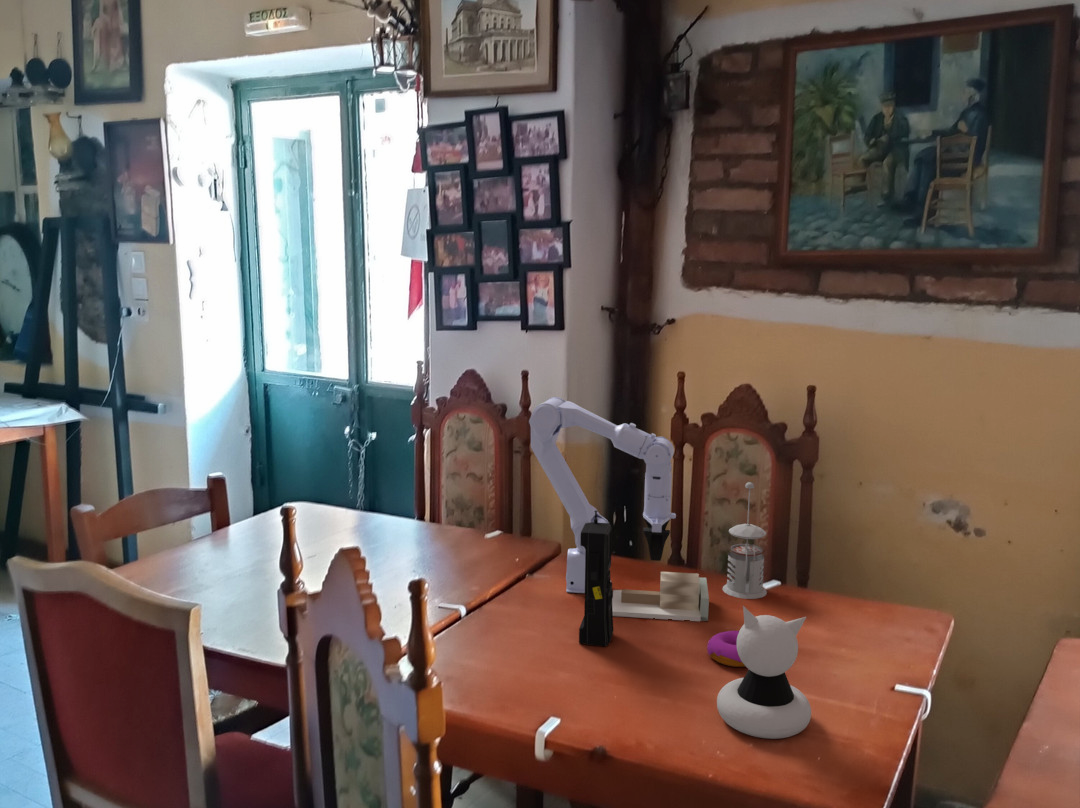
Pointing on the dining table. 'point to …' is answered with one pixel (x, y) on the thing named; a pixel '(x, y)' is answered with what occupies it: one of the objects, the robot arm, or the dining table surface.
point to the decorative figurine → (765, 681)
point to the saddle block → (679, 591)
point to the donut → (725, 649)
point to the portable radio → (597, 584)
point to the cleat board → (657, 605)
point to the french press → (746, 562)
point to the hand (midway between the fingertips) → (655, 554)
